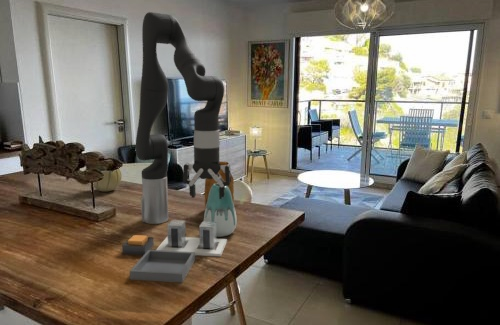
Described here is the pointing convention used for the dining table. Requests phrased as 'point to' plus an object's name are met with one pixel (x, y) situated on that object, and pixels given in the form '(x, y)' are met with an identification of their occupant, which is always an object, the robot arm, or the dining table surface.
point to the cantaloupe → (109, 181)
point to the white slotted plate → (195, 247)
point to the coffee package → (210, 182)
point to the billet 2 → (207, 235)
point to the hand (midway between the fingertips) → (207, 197)
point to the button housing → (138, 247)
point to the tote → (163, 266)
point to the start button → (138, 240)
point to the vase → (221, 211)
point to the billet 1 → (176, 234)
